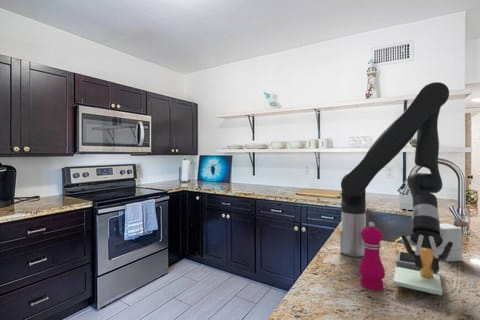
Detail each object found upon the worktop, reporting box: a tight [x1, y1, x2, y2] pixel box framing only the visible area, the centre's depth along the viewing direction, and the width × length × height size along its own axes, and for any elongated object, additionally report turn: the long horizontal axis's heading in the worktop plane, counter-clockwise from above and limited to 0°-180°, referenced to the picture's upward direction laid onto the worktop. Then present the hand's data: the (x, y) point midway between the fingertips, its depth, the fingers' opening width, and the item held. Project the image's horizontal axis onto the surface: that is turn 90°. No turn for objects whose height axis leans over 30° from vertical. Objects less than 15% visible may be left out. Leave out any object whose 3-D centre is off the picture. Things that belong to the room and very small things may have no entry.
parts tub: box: [395, 250, 438, 275], centre depth 89 cm, size 11×11×5 cm
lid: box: [392, 247, 443, 296], centre depth 78 cm, size 11×11×10 cm
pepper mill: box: [358, 221, 386, 291], centre depth 81 cm, size 7×7×20 cm
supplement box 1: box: [398, 191, 413, 211], centre depth 187 cm, size 9×9×15 cm
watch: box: [394, 236, 413, 252], centre depth 108 cm, size 6×3×6 cm, turn 62°
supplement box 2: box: [437, 222, 463, 262], centre depth 101 cm, size 7×7×13 cm
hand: (427, 270), depth 77 cm, fingers closed on lid, 3 cm apart
